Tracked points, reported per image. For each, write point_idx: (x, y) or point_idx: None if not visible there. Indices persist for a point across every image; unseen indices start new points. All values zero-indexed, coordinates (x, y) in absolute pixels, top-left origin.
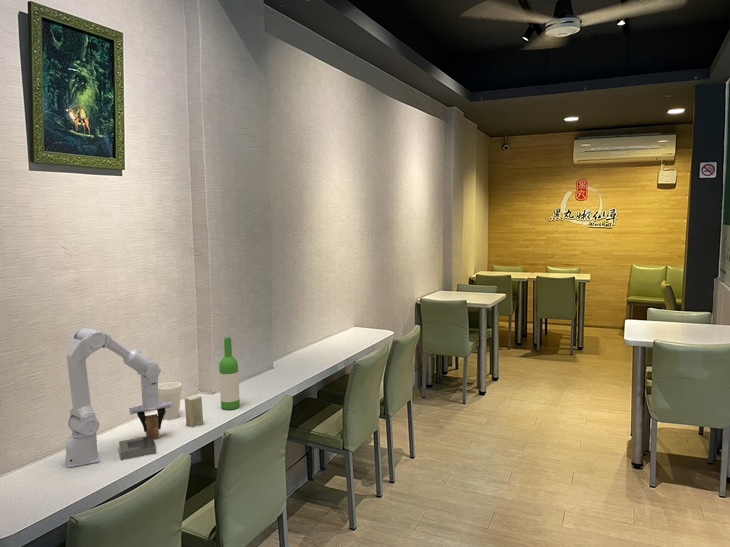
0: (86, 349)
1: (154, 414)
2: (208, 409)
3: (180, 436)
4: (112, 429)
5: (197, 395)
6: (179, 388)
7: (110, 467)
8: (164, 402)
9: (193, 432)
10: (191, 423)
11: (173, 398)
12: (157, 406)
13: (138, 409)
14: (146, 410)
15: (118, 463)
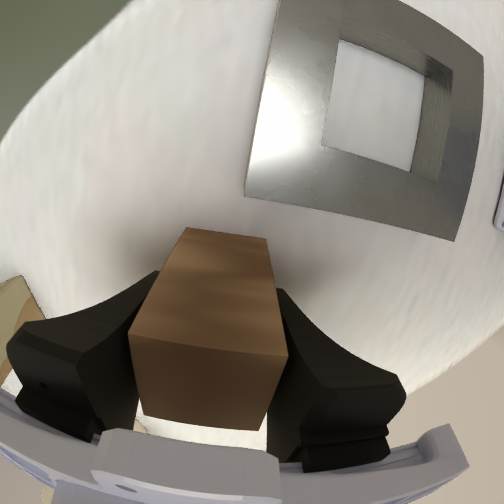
0: None
1: (165, 417)
2: (18, 385)
3: (67, 180)
4: None
5: None
6: (44, 494)
7: (486, 38)
8: (26, 472)
9: (16, 203)
10: (13, 290)
11: None
12: (59, 477)
13: (410, 485)
14: (308, 474)
15: (465, 40)
